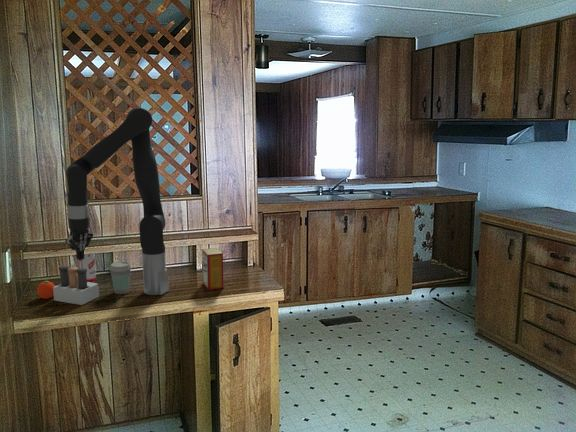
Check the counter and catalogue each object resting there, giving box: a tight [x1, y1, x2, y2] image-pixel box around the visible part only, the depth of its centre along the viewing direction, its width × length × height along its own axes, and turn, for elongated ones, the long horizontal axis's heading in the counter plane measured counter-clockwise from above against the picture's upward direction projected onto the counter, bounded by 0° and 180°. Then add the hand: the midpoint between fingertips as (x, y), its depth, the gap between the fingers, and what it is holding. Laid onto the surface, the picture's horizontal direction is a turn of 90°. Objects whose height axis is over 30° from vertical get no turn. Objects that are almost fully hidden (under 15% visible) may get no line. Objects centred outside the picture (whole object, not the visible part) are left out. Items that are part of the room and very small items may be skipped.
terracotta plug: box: [68, 266, 79, 288], centre depth 208 cm, size 4×4×8 cm
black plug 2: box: [76, 268, 87, 290], centre depth 206 cm, size 4×4×8 cm
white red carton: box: [79, 252, 97, 283], centre depth 228 cm, size 6×6×16 cm
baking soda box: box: [201, 247, 224, 291], centre depth 225 cm, size 10×6×16 cm
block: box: [53, 282, 100, 306], centre depth 210 cm, size 14×10×6 cm
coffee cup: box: [109, 261, 132, 295], centre depth 217 cm, size 8×8×12 cm
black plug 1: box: [58, 265, 70, 287], centre depth 209 cm, size 4×4×8 cm
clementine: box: [36, 280, 56, 300], centre depth 210 cm, size 8×7×7 cm
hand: (80, 259), depth 205 cm, fingers closed
